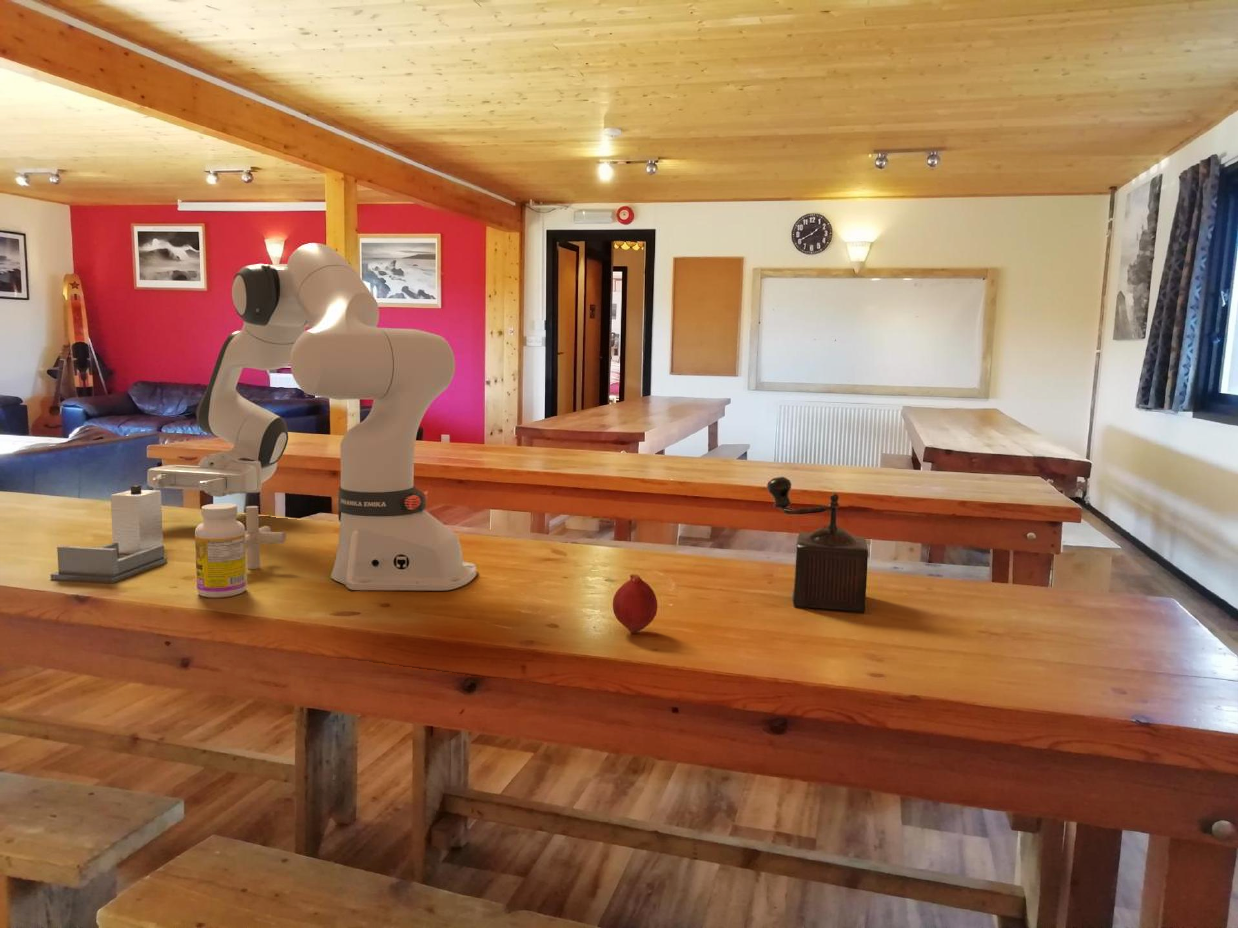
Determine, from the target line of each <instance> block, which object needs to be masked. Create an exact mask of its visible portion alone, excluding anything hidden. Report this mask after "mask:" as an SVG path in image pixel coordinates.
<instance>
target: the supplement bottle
mask: <svg viewBox="0 0 1238 928" xmlns="http://www.w3.org/2000/svg"><path fill="white" fill-rule="evenodd" d="M201 516H202V518H203V522H201V523H199V524H198V525H197V526H196V528H195V530H194V540H195V541H194V542H195V545H194V546H195V548H194V549H195V569H196V570H195V572H196V573H195V574H196V575H195V577H196V590H197V593H198V594H199V595H200V596H201V597H204V598H210V599H211V598H212V599H215V598H216V599H218V598H228V597H234V596H238V595H240V594H242V593H244V592H245V591H246V590H247V586H248V573H247V572H248V571H247V547H246V543H245V531H246V527H245V525H244V524H243V523H242V522H241V521H239V520H237V516H238V505H237V504H235V503H230V502H223V503H221V502H220V503H219V502H217V503H210V504H205V505H203V506H201Z"/></svg>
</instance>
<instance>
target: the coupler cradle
mask: <svg viewBox="0 0 1238 928" xmlns="http://www.w3.org/2000/svg"><path fill="white" fill-rule="evenodd" d="M56 549H57V550H56V552H57V569H58V571H57V572H53V573H51V574H50V580H52V581H53V580H54V581H66V582H67V581H69V582H70V581H71V582H82V583H83V582H84V583H99V584H100V583H102V584H103V583H104V584H114V583H117V582H120V581H123V580H125V579H128V578H130V577H132V576H136V575H138V574H141V573H143V572H146V571H149V570H151V569H154V568H157V567H159V566H162V565H164V564H168V557H165V546H164V544H163V545H157V546H154V547H151V548H149V549H146V550H143V551H140V552H137V553H134V554H120V553H119V547H118V543H113V542H110V543H107V544H104V545H100V546H97V547H93V546H92V547H91V546H74V545H59V546H57V547H56ZM140 572H141V573H140Z"/></svg>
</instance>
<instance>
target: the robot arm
mask: <svg viewBox="0 0 1238 928" xmlns="http://www.w3.org/2000/svg"><path fill="white" fill-rule="evenodd" d="M231 296H232V302H233V305H234V307H235V308H234V309H235V311H236V313H237V315H238V317H240V318H241V320H243V326H242V327H241V330H236V331H234V332H232V333H231V334H230V335H228V337H227V338H226V339H225V340H224V342H223V345H222V346H221V349H220V351H219V353H218V356H217V359H216V361H215V364H214V367H213V371H212V373H211V376H210V378H209V382H208V385H207V387H206V390H205V392H204V394H203V396H202V398H201V400H200V401H199V404H198V406H197V409H196V412H195V414H196V421H197V424H198V427H199V428H200V430H201V431H202V432H204V433H206V434H209V435H211V436H214V437H215V438H218V439H219V438H220V439H221V440H223V441H225V442H227V443H228V444H230V445H232V446H233V447H232V449H230V450H223V451H222V450H221V451H218V452H214V453H209V454H207V455H204V456H203V457H202V458H201V459H200V460H199V462H198V464H197V465H189V464H188V465H184V464H183V465H182V464H167V465H161V466H155V467H151V468H149V469H147V474H146V476H147V477H146V478H147V484H148V487H150V488H153V489H174V490H175V489H177V490H192V491H200V492H205V493H206V494H207V495H209V496H212V497H217V498H219V497H220V498H221V497H225V496H231V495H236V494H258V493H260V492H262V485H263V483H265V482H266V481H267V480H269V479H270V478H271V477H272V476H273V475H274V473H275V472H276V470H277V468H278V461H280V459H281V458H282V456H283V454H284V453H285V450H286V448H287V446H288V445H287V444H288V440H289V432H288V426H287V423H286V421H285V419H284V418H283V417H282V416H280V415H278V414H275V413H273V412H272V411H270V410H269V409H266V408H264V407H262V406H259V405H258V404H256V403H254V402H252V401H250V400H248V399H247V398H245V397H244V396H242V395H241V394H240V393H239V392H238V391H237V385H238V382H239V379H240V377H241V375H242V372H243V368H244V369H245V368H246V369H255V370H259V371H273V370H280V369H282V368H285V367H287V366H289V365H290V371H291V374H292V375H291V376H292V378H293V379H294V381H295V382H296V384H297V386H298V387H299V388H300V390H301V391H303V392H304V393H305V394H307V395H309V396H310V395H311V396H316V397H320V398H326V399H330V400H331V399H332V400H338V401H340V400H345V401H346V400H348V401H349V400H373V401H372V406H371V409H370V411H369V414H368V415H367V416H366V417H365V418H364V419H363V420H362V421H361V422H359V423H357V424H355V425H353V427H351V428H349V429H348V430H347V432H346V433H345V434H344V435H343V437H342V439H341V441H340V445H339V446H340V448H339V449H340V486H339V488H337V515H338V522H339V533H338V534H339V536H338V541H337V542H338V543H337V549H336V550H337V551H336V556H335V559H334V565H333V566H332V567H333V568H332V571H331V574H330V577H331V579H333V581H336V582H339V583H341V584H343V585H345V586H346V588H347V590H352V591H450V590H454V589H458V588H460V587H463V586H465V585H467V584H469V583H470V582H471V581H472V580H473V579H474V578H475V577H476V576H477V567H476V565H475V564H474V563H472V562H466V561H464V559H463V558H464V557H463V550H462V546H461V542H460V539H459V537H458V535H457V533H455V532H454V531H453V530H451V529H449V528H448V527H447V526H446V525H445V524H443V523H442V522H441V521H440V520H439V519H437V518H436V517H434V516H433V515H432V514H430V513H429V512H428V511H427V510H426V499H428V498H429V496H427V495H428V494H429V491H428V490H426V491H424V492H422V490H420V489H419V488H418V487H417V486H415V485H414V475H415V473H414V471H415V470H414V468H415V464H414V463H415V450H416V449H415V447H416V442H417V441H416V440H417V434H418V431H419V427H420V425H421V422H422V420H423V418H424V415H425V414H426V413H427V410H429V407H430V406H431V405H432V403H433V402H434V401H435V399H437V397H439V396H440V395H441V394H442V393H443V392H445V391H446V390H447V388H448V387H449V386H450V384H451V383H452V380H453V378H454V375H455V369H456V359H455V355H454V352H453V350H452V347H451V346H450V343H449V342H448V341H447V340H446V339H445V338H444V337H443V336H441V335H438V334H435V333H432V332H428V331H424V330H420V329H415V328H393V327H392V328H391V327H390V328H389V327H377V326H378V324H379V319H380V309H379V304H378V302H377V299H375V297H374V295H373V294H372V292H371V291H370V290H369V288H368V286H367V285H366V284H365V282H364V281H363V280H362V278H361V277H360V275H359V273H357V271H356V270H355V268H354V267H353V266H352V265H351V264H350V263H349V262H348V261H347V259H345V258H344V257H343V256H342V255H341V254H340V253H338V252H337V251H336V250H335V249H333V248H331V246H328V245H326V244H323V243H319V242H310V243H306V244H303V245H301V246H300V247H297V248H296V249H295V250H294V251H293V252H292V253H291V254H290V256H289V258H288V259H287V263H277V264H269V263H268V264H264V263H257V264H250V265H246V266H243V267H241V269H240V270H239V271H238V272H236V274H235V275H234V278H233V284H232V287H231ZM306 328H309V329H307V330H306Z"/></svg>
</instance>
